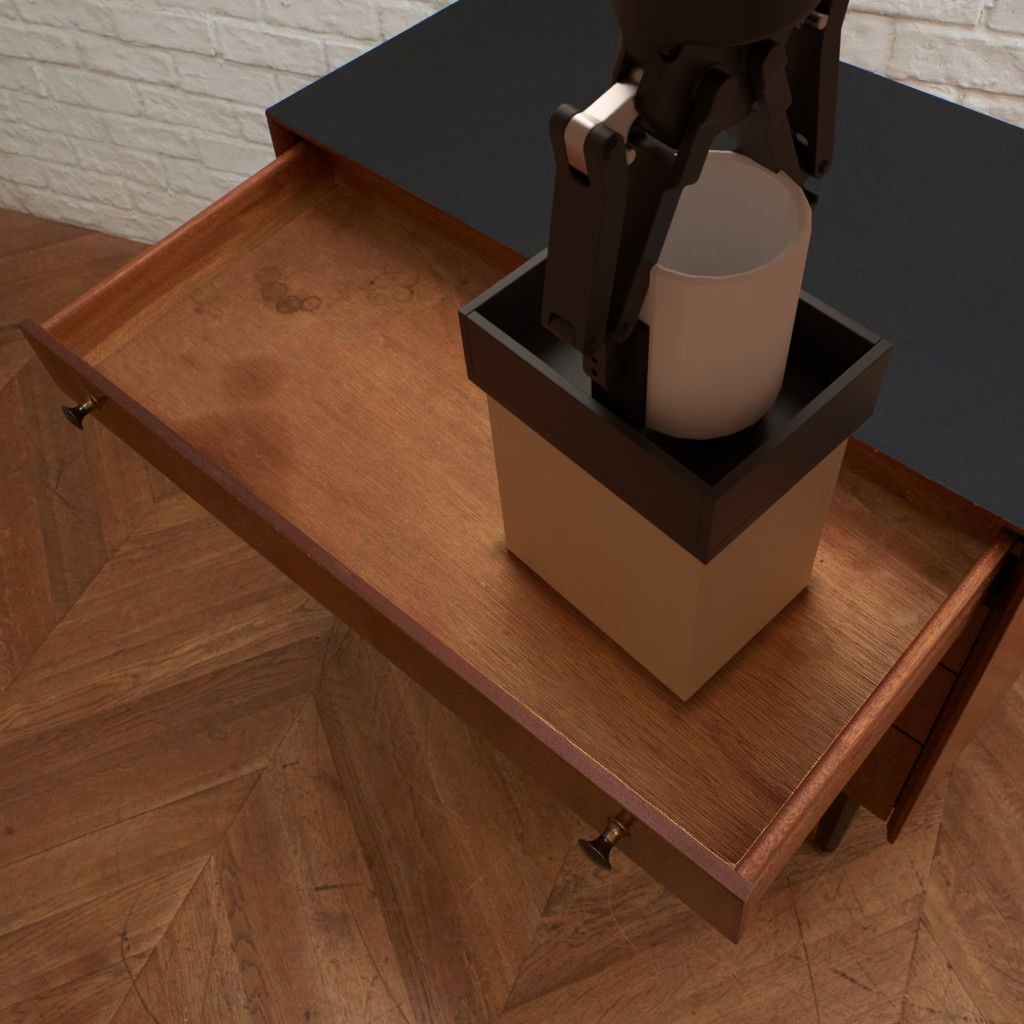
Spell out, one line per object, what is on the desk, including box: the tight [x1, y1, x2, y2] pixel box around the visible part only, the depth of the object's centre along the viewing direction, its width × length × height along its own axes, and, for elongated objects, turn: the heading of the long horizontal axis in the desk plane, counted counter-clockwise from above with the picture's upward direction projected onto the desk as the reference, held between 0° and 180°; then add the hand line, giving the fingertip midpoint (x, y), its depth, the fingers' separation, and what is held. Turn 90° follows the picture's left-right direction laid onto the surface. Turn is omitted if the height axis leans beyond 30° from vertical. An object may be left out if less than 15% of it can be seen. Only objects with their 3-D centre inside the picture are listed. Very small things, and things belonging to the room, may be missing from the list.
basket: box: [457, 246, 894, 565], centre depth 55 cm, size 16×12×5 cm
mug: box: [638, 149, 813, 440], centre depth 51 cm, size 8×12×10 cm
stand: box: [485, 393, 850, 703], centre depth 64 cm, size 15×11×16 cm
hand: (683, 362), depth 54 cm, fingers closed on mug, 8 cm apart
